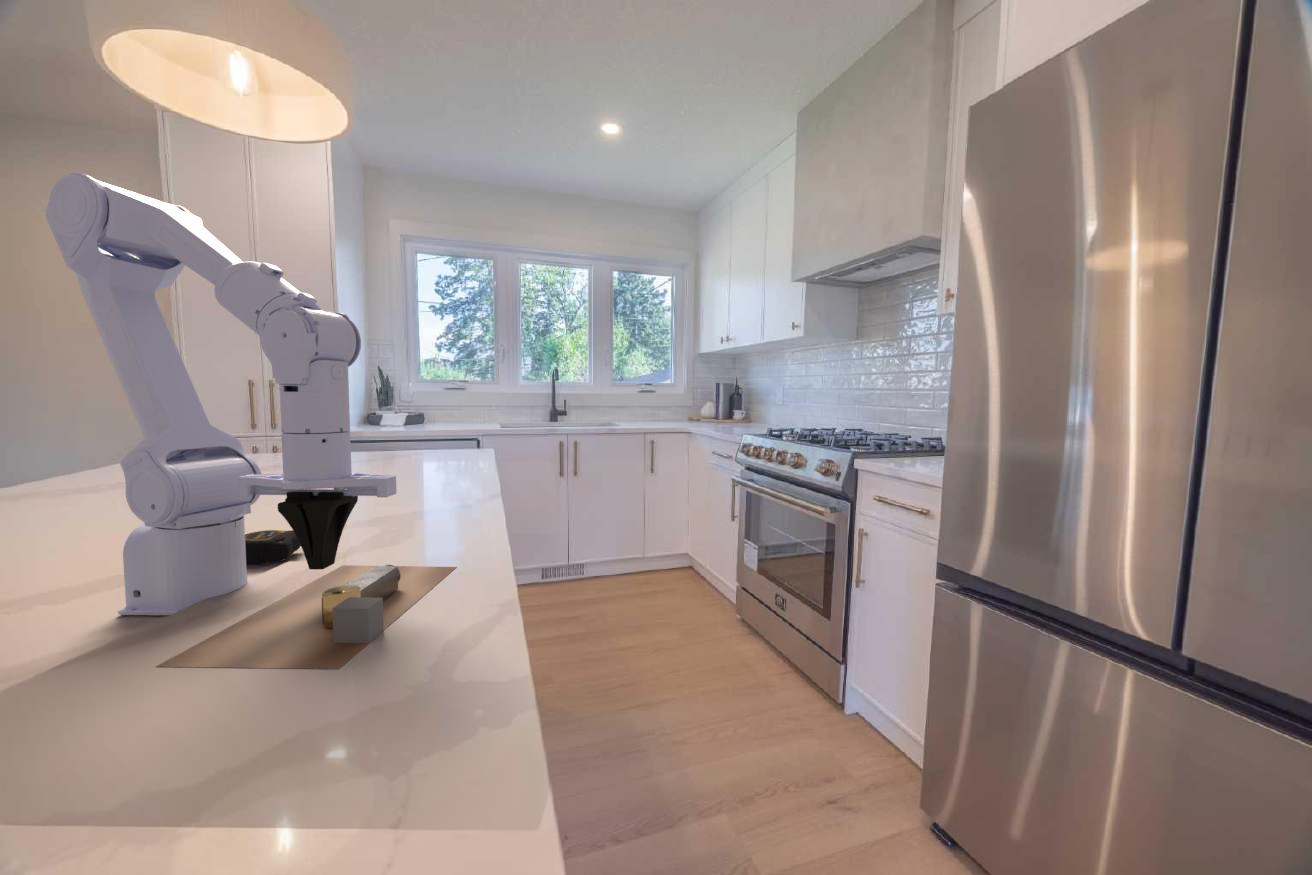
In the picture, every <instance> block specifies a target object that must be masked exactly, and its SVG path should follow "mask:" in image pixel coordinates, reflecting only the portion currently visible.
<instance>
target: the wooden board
mask: <svg viewBox="0 0 1312 875" xmlns="http://www.w3.org/2000/svg"><path fill="white" fill-rule="evenodd" d="M374 566H375V565H347V564H346V565H343V564H342V565H341V566H339V567H337V568H335V569H333V570H331V571H329V572H328V573H326V574H324V575H322V576H320V577H319V578H316V579H315V580H313V581H311V582H309V583H308V584H306V585H304V586H302V587H300V588H298V589H296V590H295V591H293V592H291V593H289V594H287V595H286V596H283V597H282V598H280V599H278V600H276V601H274V602H272V603H270V604H269V605H267V606H265V607H263V608H261V609H260V610H258V611H256V612H254V613H252V614H251V615H248V616H246V617H245V618H242V619H241V620H238V621H237V622H236V623H233V624H232V625H230V626H228V627H226V628H224V629H223V630H221V631H219V632H217V633H215V634H213V635H212V636H210V637H208V638H205V639H204V640H202V641H200V642H198V643H197V644H195V645H193V646H191V647H189V648H188V649H187V648H186V650H184V651H182V652H180V653H178V654H176V655H174V656H172V657H171V658H169V659H167V660H165V661H163V662H162V663H160V664H158V665H156V666H155V668H180V669H181V668H187V669H188V668H191V669H192V668H195V669H198V668H199V669H200V668H201V669H267V670H268V669H269V670H270V669H271V670H273V669H274V670H276V669H278V670H340V669H342V667H344V666H345V665H346V664H347V663H348V662H349V661H350V660H352V659H353V658H355V657H356V656H357V655H358V654H359V653H360V652H361V651H362V650H363V649H365V648H366V647H367V646H368V645H369V644H370V643H334V642H333V628H327V627H325V626H323V625H322V593H323V592H324V591H326V590H328V589H331V588H334V587H339V586H343V585H345V584H346V583H348V582H349V581H351V580H353V579H354V578H356V577H358V576H359V575H361V574H363V573H364V572H366V571H368V570H369V569H371V568H373V567H374ZM397 566H398V570H399V571H400V575H401V577H400V581H399V582H398V589H397V590H396V591H395V592H393V593H392V594H391V595H389V596H388V597H387V598H385V599H384V600H383V624H384V631H386V629H388V627H390V626H391V625H392V624H394V622H396V621H397V620H398V619H399V618H400V617H401V616H403V615H405V613H406V612H407V611H409V610H410V609H411V608H412V607H413V606H414V605H416V603H419V601H420V600H421V599H423V597H425V596H426V595H427V594H428V593H429V592H431V591H432V590H433V589H434V588H435V587H436V586H437V585H439V583H441V582H442V581H443V580H445V578H447V577H448V576H449V575H450V574H451V573H452V572H454V571H455V570H456V569H457V568H458V566H419V565H418V566H416V565H415V566H413V565H412V566H411V565H407V566H406V565H405V566H404V565H403V566H402V565H397ZM384 631H382V632H381V633H380V634H379V635H378V636H380V635H381V634H382V633H383V632H384ZM376 638H377V637H375V638H374V639H373V640H372V641H371V642H373V641H374V640H375V639H376Z"/></svg>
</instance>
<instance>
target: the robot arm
mask: <svg viewBox="0 0 1312 875" xmlns="http://www.w3.org/2000/svg"><path fill="white" fill-rule="evenodd" d="M49 193H50V194H49V197H48V203H47V205H46V209H45V211H46V212H45V219H46V220H47V223H48V225H49V229H50V230H51V232H52V234H53V237H54V240H55V241H56V244H57V247H58V249H59V251H60V253H61V255H62V258H63V260H64V262H65V264H66V267H67V268H68V269H70V270H71V271H72V272H74V273H75V274H76V276H77V281H78V285H79V288H80V290H81V293H82V295H83V298H84V300H85V303H86V305H87V308H88V310H89V312H90V314H91V317H92V319H93V321H94V324H95V326H96V329H97V330H98V333H99V335H100V338H101V340H102V342H103V345H104V348H105V350H106V352H107V355H108V356H109V359H110V361H111V363H112V366H113V368H114V370H115V373H116V375H117V377H118V379H119V382H120V385H121V387H122V389H123V391H124V394H125V396H126V399H127V401H128V403H129V406H130V408H131V410H132V412H133V414H134V415H133V416H134V417H135V420H136V422H137V424H138V427H139V428H140V431H141V433H142V436H143V439H142V440H141V441H140V442H139V443H138V444H136V445H135V446H134V447H132V449H130V450H129V452H128V453H126V455H125V456H124V458H123V459H122V460H121V462H120V467H121V468H122V471H123V475H124V476H123V477H124V479H125V499H126V502H127V505H128V507H129V509H130V511H131V512H132V513H133V514H134V515H135V516H136V518H138V519H139V520H140V521H142V522H143V523H141V524H139V525H138V526H137V527H135V528H134V529H133V530H131V532H130V534H129V535H128V536H127V538H126V540H125V543H124V545H123V550H122V563H123V578H124V579H123V580H124V595H125V596H124V598H125V606H124V607H121V608H119V609H118V610H117V615H119V616H121V615H122V616H171V615H173V614H176V613H177V612H180V611H183V610H185V609H187V608H189V607H191V606H193V605H196V604H198V603H199V602H202V601H204V600H206V599H211V598H214V597H219V596H222V595H226V594H229V593H231V592H235V591H237V590H239V589H241V588H243V587H245V586H246V585H247V583H248V576H247V575H248V574H247V573H248V571H247V565H246V547H245V534H246V528H245V526H246V525H245V516H246V515H248V514H251V513H252V512H251V511H252V510H251V507H252V505H254V504H255V503H256V502H257V501H258V499H259V498H260V496H286V498H285V499H284V500H285V501H281V502H278V503H277V511H278V513H280V515H281V516H282V517H283V518H284V519H285V520H286V522H287V524H289V526H290V528H291V530H293V531H294V533H295V534H296V536H297V538H298V540H299V542H300V545H301V546H300V548H301V550H302V552H303V555H304V557H305V560H306V563H307V566H308V569H309V570H324V569H327V568H328V567H331V566H332V565H334V564H335V562H336V557H337V552H338V547H339V544H340V540H341V538H342V535H343V530H344V529H345V526H346V524H347V522H348V520H349V518H350V515H351V513H352V512H353V509H354V507H355V506H356V504H357V503H358V500H359V499H358V497H359V496H360V497H364V496H365V497H377V498H388V497H392V496H394V495H397V475H395V474H393V475H391V474H389V475H388V474H386V475H385V474H374V473H359V472H352V450H351V447H352V446H351V445H352V444H351V443H352V442H351V423H350V421H351V419H350V417H351V416H350V415H351V414H350V413H351V411H350V388H349V387H350V386H349V381H350V380H349V367H351V366H352V365H353V364H355V362H356V360H357V359H358V357H359V355H360V352H361V348H362V339H361V334H360V332H359V329H358V328H357V326H356V324H355V323H354V322H353V321H352V320H351V319H350V317H349V316H348V315H347V314H345V313H342V312H338V311H324V310H323V309H322V308H321V307H320V306H319V304H317V302H318V301H317V299H316V298H315V297H314V296H313V295H311V294H310V293H305V292H301V291H299V289H297V288H296V287H294V286H293V285H292V284H290V283H289V282H288V281H286V279H285V278H283V276H284V273H285V272H284V271H283V270H282V269H280V268H279V267H278V266H277V265H274V264H271V263H267V262H258V261H252V260H251V261H249V260H248V261H243V260H241V259H240V257H238V256H237V255H236V254H234V253H233V251H231V250H230V249H229V248H228V247H227V246H226V245H224V244H223V243H222V242H221V241H220V240H219V239H218V238H217V237H215V236H214V235H213V234H212V233H211V232H210V231H209V230H207V228H205V227H204V224H203V219H202V218H201V217H199V216H196V215H195V214H193V213H191V212H190V211H189V210H188V209H186V208H185V207H183V206H181V205H177V204H173V203H168V202H165V201H161V200H158V199H155V198H153V197H149V196H146V195H143V194H140V193H137V192H135V191H131V190H127V189H125V188H123V187H119V186H115V185H113V184H110V183H108V182H103V181H101V180H98V179H96V178H93V177H92V176H90V175H88V174H86V173H82V172H76V171H75V172H69V173H66V174H65V175H64V176H62V177H61V178H59V179H57V181H56V182H55V183H54V185H53V186H52V188H51V191H50V192H49ZM185 267H187V268H189V269H190V270H192V272H193V271H194V272H195V273H197V275H199V276H200V277H202V278H204V279H205V280H206V281H208V282H209V283H211V284H212V285H213V286H214V290H213V291H214V295H215V296H214V297H215V299H216V301H217V302H218V304H219V305H220V306H222V307H223V308H224V309H225V310H226V311H227V312H229V313H230V314H231V315H233V316H234V317H235V318H236V319H238V320H239V321H240V322H241V323H243V324H244V325H245V326H247V327H248V328H249V329H250V330H251V331H253V332H254V333H255V334H257V335H258V336H259V342H260V346H261V349H262V351H263V353H264V354H265V356H266V358H267V359H268V360H269V363H270V364H271V369H272V371H271V372H272V378H273V379H274V381H275V383H276V384H278V385H279V386H278V389H279V406H280V408H279V409H280V410H279V411H280V427H281V428H280V430H281V431H280V433H281V435H280V436H281V454H282V473H262V471H261V469H260V467H259V466H258V464H257V462H256V461H255V460H254V459H253V458H251V456H249V454H248V453H247V452H246V451H245V449H244V447H243V445H242V443H241V440H240V439H238V438H237V437H235V436H233V435H232V434H230V433H227V432H225V431H223V430H221V429H219V428H217V427H215V426H214V425H212V424H211V423H210V421H209V418H208V416H207V414H206V411H205V409H204V407H203V404H202V402H201V399H200V398H199V395H198V393H197V390H196V388H195V386H194V384H193V381H192V379H191V377H190V374H189V372H188V370H187V368H186V365H185V362H184V361H183V358H182V355H181V352H180V351H179V348H178V346H177V345H176V344H177V343H176V342H175V339H174V337H173V335H172V333H171V331H170V328H169V325H168V323H167V321H166V319H165V316H164V313H163V312H162V310H161V307H160V304H159V303H158V300H157V298H156V292H157V291H161V290H164V289H167V288H170V287H172V286H173V284H174V283H175V281H176V279H177V278H178V276H179V275H180V273H181V272H182V271H183V269H184V268H185Z"/></svg>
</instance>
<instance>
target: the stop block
mask: <svg viewBox="0 0 1312 875" xmlns="http://www.w3.org/2000/svg"><path fill="white" fill-rule="evenodd" d="M332 612H333V642H334V643H369V644H370V643H371V642H373V641H374V640H375V639H376V638H377V637H379V636H380V635H381V634H382V633H383V632H384V631H385V630H384V624H383V598H365V597H349V598H347V599H346V600H344V601H343V602H341V603H340V604H338V605H337V606H335V607H333V608H332ZM382 631H383V632H382ZM381 632H382V633H381ZM380 633H381V634H380ZM379 634H380V635H379ZM375 637H376V638H375ZM374 638H375V639H374ZM373 639H374V640H373ZM372 640H373V641H372Z"/></svg>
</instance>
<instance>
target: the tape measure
mask: <svg viewBox="0 0 1312 875" xmlns="http://www.w3.org/2000/svg"><path fill="white" fill-rule="evenodd" d="M245 547H246V566H247V565H250V566H256V565H257V566H258V565H259V566H260V565H265V564H272V563H277V561H280V562H282V561H286V560H289V558H290V557H291V556H292V554H294V553H295V552H297V551H299V549H300V548H301V545H300V542H299V540H298V538H297V536H296V534H295V533H294V531H293V529H291V530H280V529H279V530H278V529H269V530H268V529H266V530H259V531H253V532H249V533H245Z"/></svg>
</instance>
